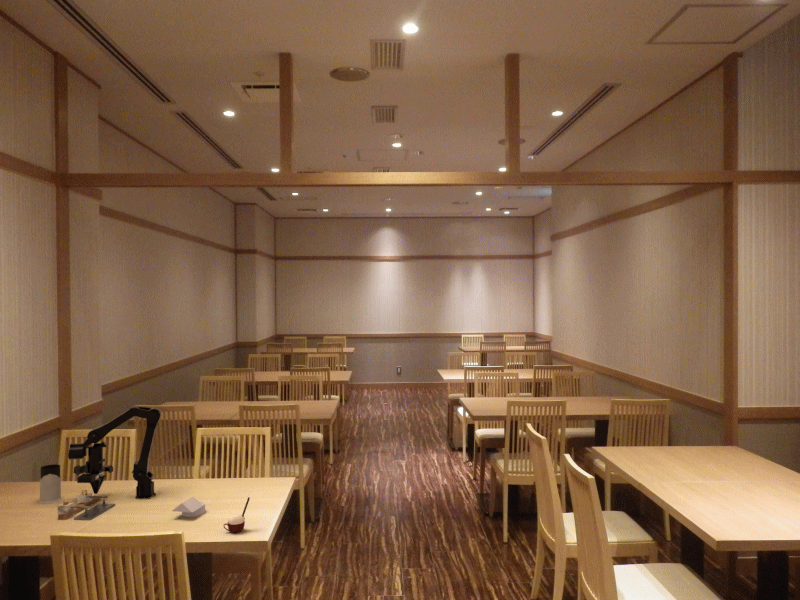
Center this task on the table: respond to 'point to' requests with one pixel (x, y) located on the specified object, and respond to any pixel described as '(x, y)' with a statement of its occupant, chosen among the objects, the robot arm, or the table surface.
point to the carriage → (88, 497)
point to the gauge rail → (76, 510)
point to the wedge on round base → (191, 507)
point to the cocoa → (236, 521)
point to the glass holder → (50, 484)
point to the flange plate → (95, 511)
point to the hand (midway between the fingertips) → (95, 493)
